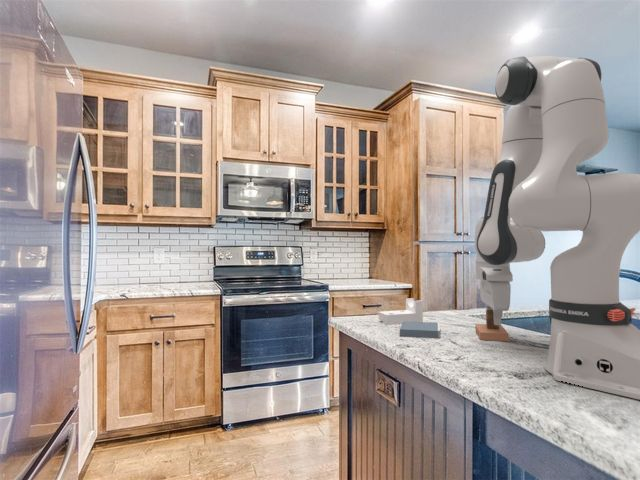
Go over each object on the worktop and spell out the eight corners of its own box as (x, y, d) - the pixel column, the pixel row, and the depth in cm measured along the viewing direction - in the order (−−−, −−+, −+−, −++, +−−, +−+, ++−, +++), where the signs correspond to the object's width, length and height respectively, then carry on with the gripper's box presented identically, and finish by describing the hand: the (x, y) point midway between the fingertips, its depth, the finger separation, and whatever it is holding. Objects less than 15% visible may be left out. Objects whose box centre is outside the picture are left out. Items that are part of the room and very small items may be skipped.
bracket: (412, 319, 135) (412, 298, 135) (422, 323, 128) (422, 300, 128) (378, 321, 132) (378, 300, 132) (386, 325, 125) (386, 302, 125)
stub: (480, 339, 102) (479, 313, 102) (475, 330, 114) (474, 306, 114) (508, 341, 100) (507, 314, 100) (501, 331, 112) (500, 307, 112)
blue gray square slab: (399, 336, 108) (399, 328, 108) (403, 327, 120) (403, 321, 120) (440, 338, 105) (440, 330, 105) (439, 329, 117) (439, 322, 117)
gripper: (474, 270, 118) (475, 315, 117) (487, 275, 98) (489, 329, 98) (496, 270, 116) (497, 315, 116) (514, 275, 96) (516, 329, 96)
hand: (494, 322), depth 107 cm, fingers open, 6 cm apart
